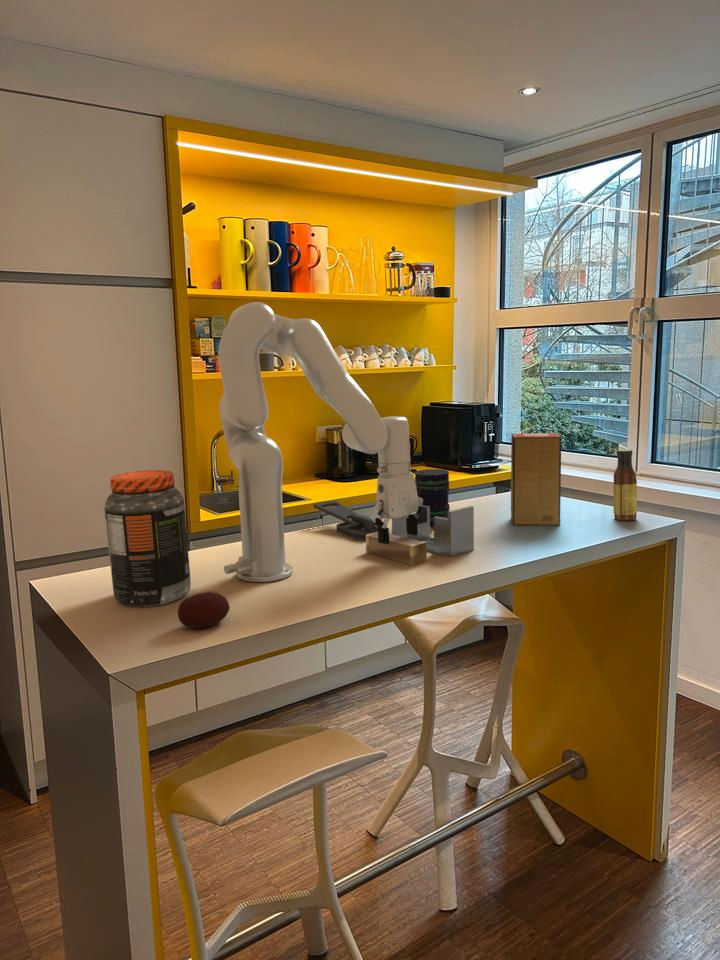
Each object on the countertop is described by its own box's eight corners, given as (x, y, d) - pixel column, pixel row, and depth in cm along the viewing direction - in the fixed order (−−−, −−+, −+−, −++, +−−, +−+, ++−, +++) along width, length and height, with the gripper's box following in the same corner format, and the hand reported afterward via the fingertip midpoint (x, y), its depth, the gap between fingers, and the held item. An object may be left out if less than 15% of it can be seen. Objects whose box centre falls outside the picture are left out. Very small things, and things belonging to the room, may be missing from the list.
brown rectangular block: (413, 565, 171) (412, 545, 170) (366, 553, 182) (365, 534, 181) (426, 561, 174) (426, 542, 173) (379, 549, 185) (379, 531, 185)
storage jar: (447, 518, 217) (446, 468, 214) (452, 526, 207) (452, 474, 204) (413, 520, 216) (412, 469, 214) (417, 527, 207) (416, 475, 204)
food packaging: (556, 518, 213) (558, 432, 209) (561, 525, 204) (562, 436, 200) (510, 518, 215) (510, 432, 211) (512, 525, 206) (512, 436, 201)
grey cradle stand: (451, 557, 176) (450, 512, 175) (392, 542, 191) (391, 501, 189) (473, 549, 182) (473, 506, 180) (414, 536, 197) (414, 496, 195)
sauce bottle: (640, 518, 210) (642, 449, 206) (631, 522, 205) (633, 452, 202) (617, 515, 214) (619, 447, 211) (608, 519, 209) (610, 450, 206)
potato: (171, 627, 136) (169, 595, 135) (220, 613, 143) (218, 583, 141) (189, 638, 131) (187, 604, 130) (239, 623, 137) (237, 591, 136)
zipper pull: (335, 499, 217) (388, 512, 197) (336, 521, 218) (388, 536, 198) (309, 503, 212) (361, 517, 192) (310, 526, 213) (361, 542, 193)
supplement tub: (172, 580, 165) (163, 465, 161) (204, 596, 153) (196, 473, 148) (101, 595, 155) (90, 474, 151) (130, 615, 143) (118, 484, 139)
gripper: (379, 476, 166) (383, 549, 169) (431, 464, 177) (434, 533, 180) (357, 473, 171) (361, 544, 175) (408, 462, 183) (411, 529, 186)
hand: (398, 538), depth 177 cm, fingers open, 9 cm apart
